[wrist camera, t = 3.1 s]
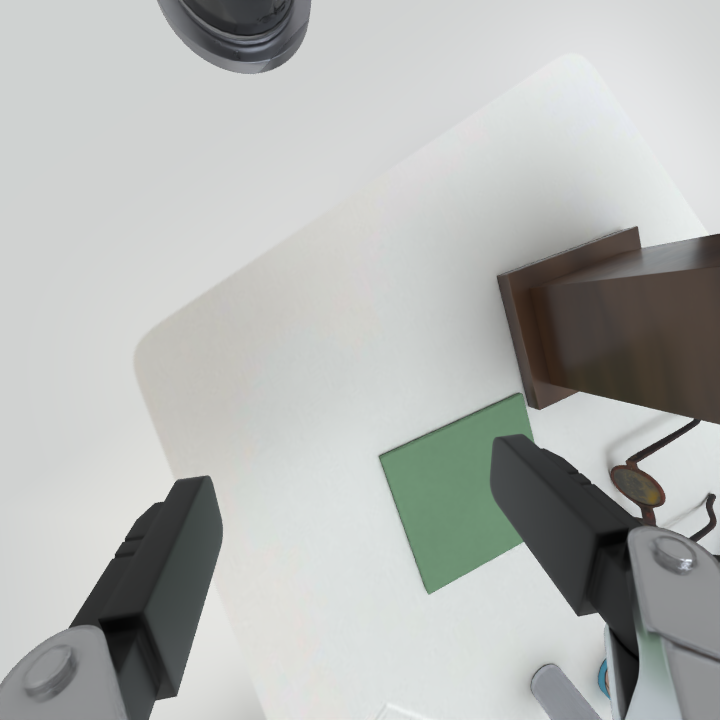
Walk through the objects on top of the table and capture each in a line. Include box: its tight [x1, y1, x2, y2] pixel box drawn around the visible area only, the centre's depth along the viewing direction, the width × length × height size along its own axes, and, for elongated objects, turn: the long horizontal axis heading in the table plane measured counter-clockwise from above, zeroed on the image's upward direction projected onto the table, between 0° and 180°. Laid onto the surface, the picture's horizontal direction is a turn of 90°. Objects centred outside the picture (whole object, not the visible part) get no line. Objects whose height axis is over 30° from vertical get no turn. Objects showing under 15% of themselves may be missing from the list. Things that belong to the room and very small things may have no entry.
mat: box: [379, 393, 535, 594], centre depth 35 cm, size 16×16×1 cm
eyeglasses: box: [611, 418, 717, 542], centre depth 39 cm, size 15×15×5 cm
